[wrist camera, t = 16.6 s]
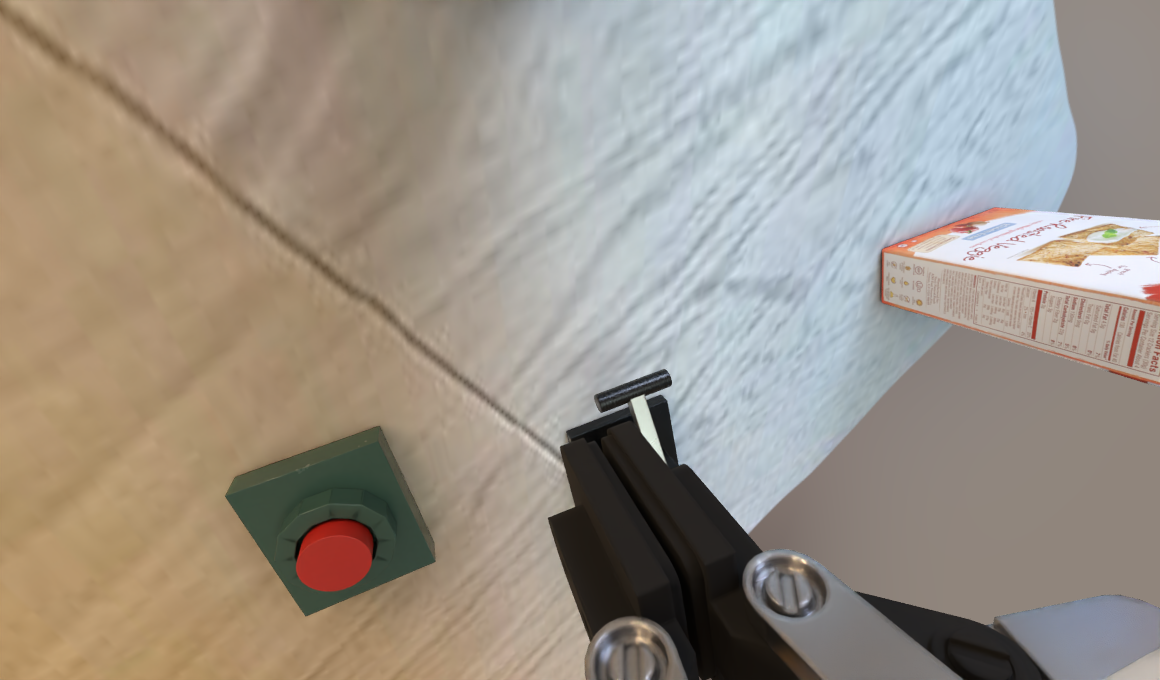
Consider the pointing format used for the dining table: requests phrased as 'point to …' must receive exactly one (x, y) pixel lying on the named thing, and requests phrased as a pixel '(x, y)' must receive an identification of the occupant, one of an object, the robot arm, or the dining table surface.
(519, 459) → the dining table surface
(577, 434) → the switch bracket
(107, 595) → the dining table surface
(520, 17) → the dining table surface
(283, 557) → the button box
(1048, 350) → the cracker box
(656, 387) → the switch lever
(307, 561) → the red button
